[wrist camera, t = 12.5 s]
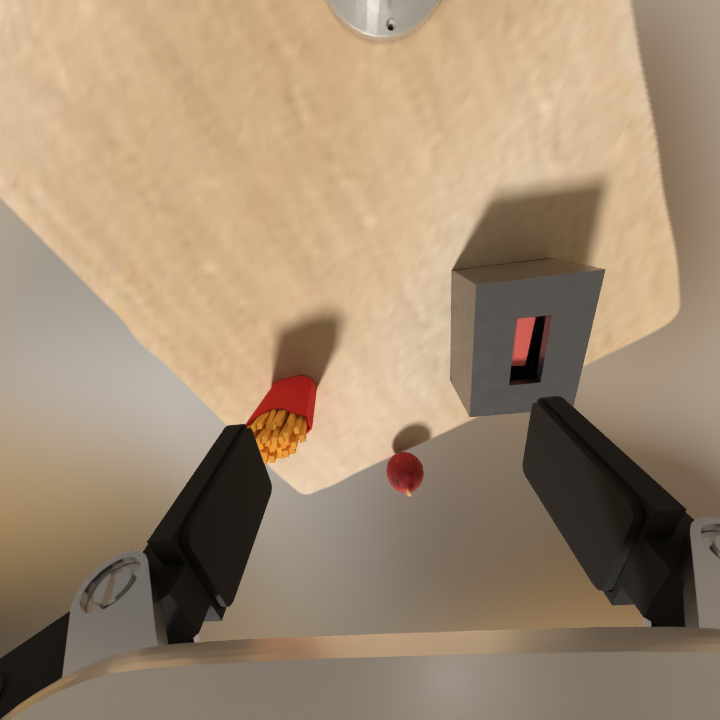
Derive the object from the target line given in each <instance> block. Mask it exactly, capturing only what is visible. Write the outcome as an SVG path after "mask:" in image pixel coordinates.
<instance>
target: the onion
mask: <svg viewBox="0 0 720 720" xmlns="http://www.w3.org/2000/svg"><path fill="white" fill-rule="evenodd" d="M387 476H388V479H389V481H390V483H391V485H392V486H393V487H394V488H395V489H396V490H398V491H399V492H402V493H406V494H407V496H411V494H412V492H413V491H415V490H416V489H417V488H418V487H419V486H420V484H421V482H422V480H423V476H424V473H423V466H422V464H421V462H420V461H419V460H418V458H417V457H415V456H414V455H412V454H411V453H406V452H400V453H398V454H396V455H394V456H393V457H392V458H391V459H390V461H389V462H388V466H387Z"/></svg>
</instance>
